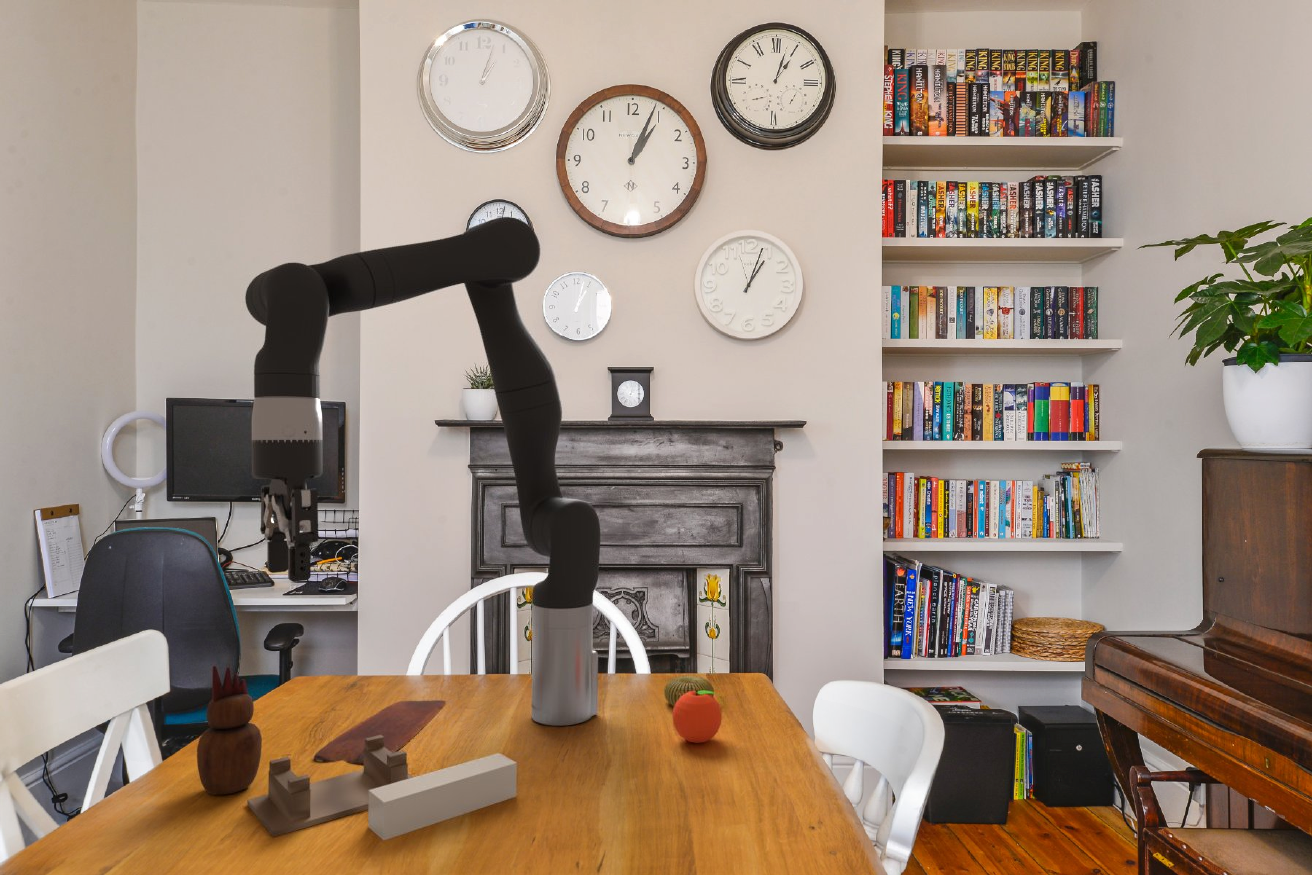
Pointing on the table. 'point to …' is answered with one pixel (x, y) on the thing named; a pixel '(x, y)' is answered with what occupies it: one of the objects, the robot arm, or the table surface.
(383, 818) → the white rectangular block
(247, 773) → the wooden figurine
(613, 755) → the table surface
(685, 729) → the clementine
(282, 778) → the rack
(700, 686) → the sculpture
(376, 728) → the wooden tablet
